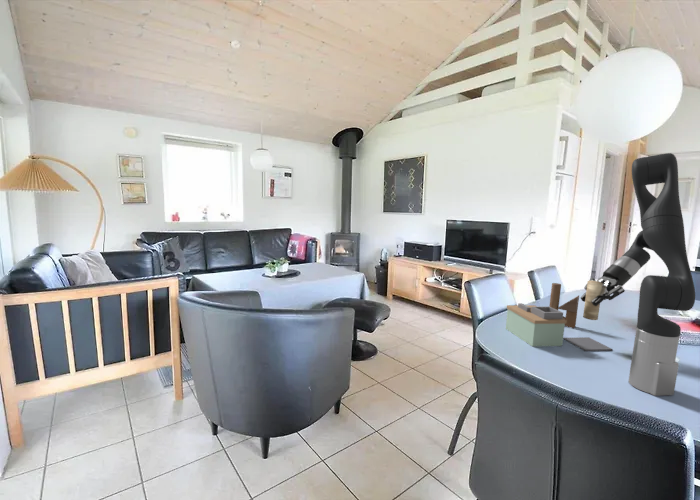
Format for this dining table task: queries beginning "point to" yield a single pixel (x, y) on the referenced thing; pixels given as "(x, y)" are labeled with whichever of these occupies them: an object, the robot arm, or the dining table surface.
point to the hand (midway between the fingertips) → (587, 302)
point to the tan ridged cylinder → (591, 293)
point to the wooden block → (564, 305)
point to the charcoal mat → (587, 344)
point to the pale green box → (536, 324)
